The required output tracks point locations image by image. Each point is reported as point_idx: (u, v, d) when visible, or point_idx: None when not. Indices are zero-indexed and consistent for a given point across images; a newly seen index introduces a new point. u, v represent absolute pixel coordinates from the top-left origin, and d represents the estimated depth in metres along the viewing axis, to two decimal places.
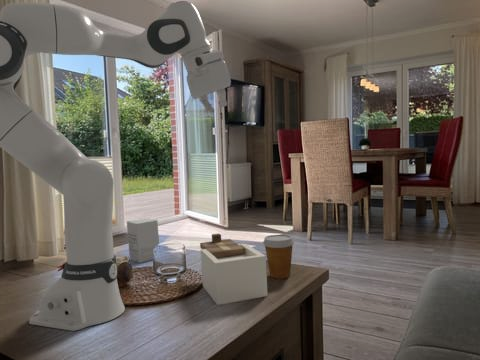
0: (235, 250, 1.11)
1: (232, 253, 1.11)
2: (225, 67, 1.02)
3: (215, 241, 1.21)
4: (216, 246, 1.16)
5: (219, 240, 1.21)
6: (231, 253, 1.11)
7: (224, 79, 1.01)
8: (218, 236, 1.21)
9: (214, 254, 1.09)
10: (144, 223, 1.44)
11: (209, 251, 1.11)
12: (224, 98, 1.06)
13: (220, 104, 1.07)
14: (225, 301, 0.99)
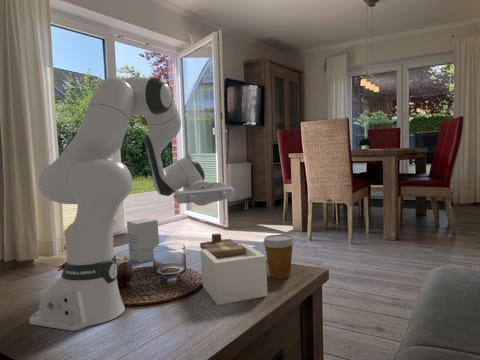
0: (235, 250, 1.11)
1: (232, 253, 1.11)
2: None
3: (215, 241, 1.21)
4: (216, 246, 1.16)
5: (219, 240, 1.21)
6: (231, 253, 1.11)
7: None
8: (218, 236, 1.21)
9: (214, 254, 1.09)
10: (144, 223, 1.44)
11: (209, 251, 1.11)
12: None
13: (223, 193, 1.29)
14: (225, 301, 0.99)
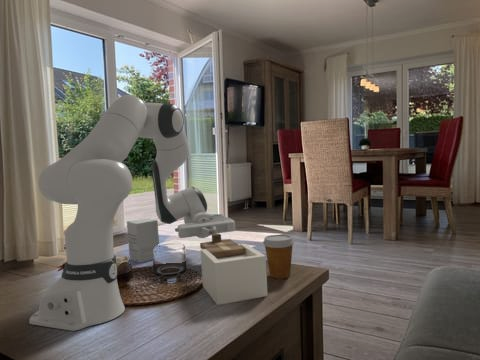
0: (235, 250, 1.11)
1: (232, 253, 1.11)
2: None
3: (215, 241, 1.21)
4: (216, 246, 1.16)
5: (219, 240, 1.21)
6: (231, 253, 1.11)
7: None
8: (218, 236, 1.21)
9: (214, 254, 1.09)
10: (144, 223, 1.44)
11: (209, 251, 1.11)
12: None
13: (213, 229, 1.29)
14: (225, 301, 0.99)
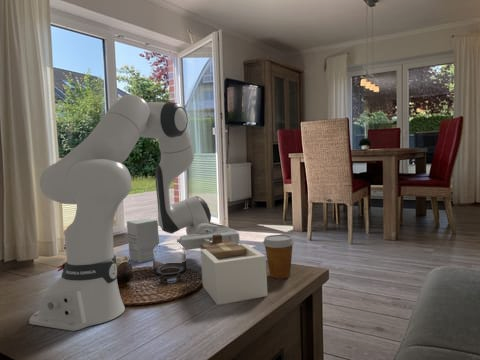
0: (236, 251, 1.11)
1: (233, 254, 1.10)
2: None
3: (216, 242, 1.20)
4: (217, 247, 1.15)
5: (220, 241, 1.20)
6: (232, 254, 1.10)
7: None
8: (219, 237, 1.20)
9: (215, 255, 1.09)
10: (144, 223, 1.44)
11: (210, 252, 1.10)
12: None
13: None
14: (225, 301, 0.99)
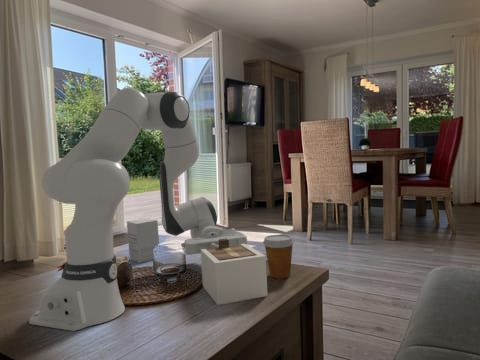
0: None
1: None
2: None
3: (222, 246, 1.13)
4: (224, 252, 1.09)
5: (227, 245, 1.14)
6: None
7: None
8: (226, 241, 1.13)
9: None
10: (144, 223, 1.44)
11: (217, 258, 1.04)
12: None
13: None
14: (225, 301, 0.99)
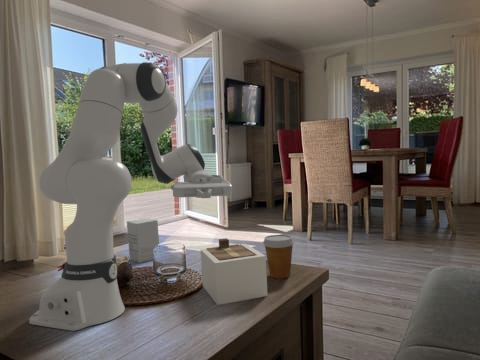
0: None
1: None
2: None
3: (222, 246, 1.13)
4: (224, 252, 1.09)
5: (227, 245, 1.14)
6: None
7: None
8: (226, 241, 1.13)
9: None
10: (144, 223, 1.44)
11: (217, 258, 1.04)
12: None
13: (208, 192, 1.25)
14: (225, 301, 0.99)
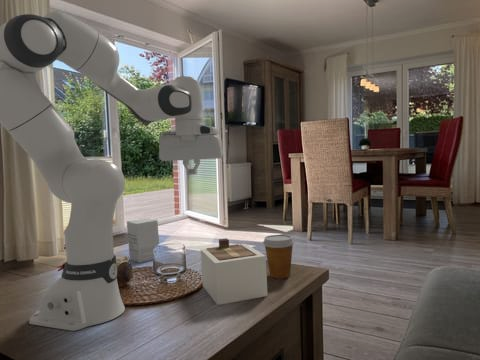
0: None
1: None
2: (221, 142, 1.20)
3: (222, 246, 1.13)
4: (224, 252, 1.09)
5: (227, 245, 1.14)
6: None
7: (221, 151, 1.19)
8: (226, 241, 1.13)
9: None
10: (144, 223, 1.44)
11: (217, 258, 1.04)
12: (197, 167, 1.21)
13: (193, 171, 1.20)
14: (225, 301, 0.99)
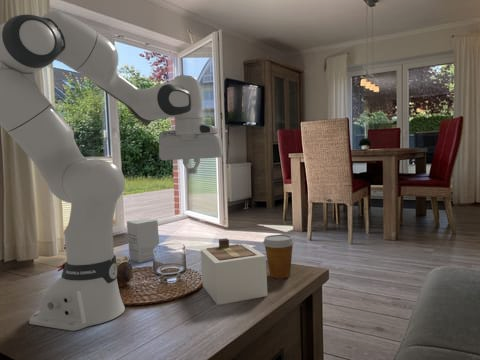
0: None
1: None
2: (221, 141, 1.20)
3: (222, 246, 1.13)
4: (224, 252, 1.09)
5: (227, 245, 1.14)
6: None
7: (221, 150, 1.18)
8: (226, 241, 1.13)
9: None
10: (144, 223, 1.44)
11: (217, 258, 1.04)
12: (197, 166, 1.21)
13: (193, 171, 1.20)
14: (225, 301, 0.99)
